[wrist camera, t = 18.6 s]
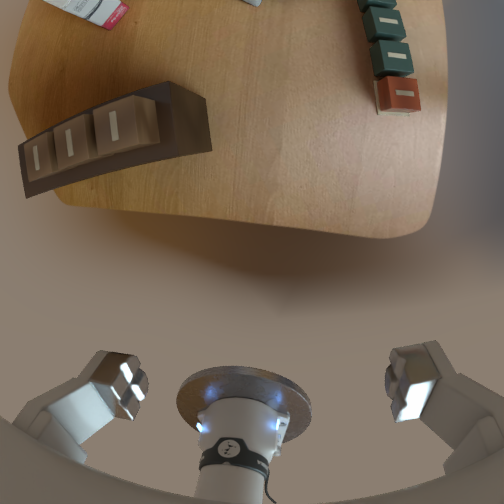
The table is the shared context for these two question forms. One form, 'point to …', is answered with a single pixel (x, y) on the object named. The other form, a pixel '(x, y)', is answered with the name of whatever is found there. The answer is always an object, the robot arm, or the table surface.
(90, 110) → the dark drawer rack
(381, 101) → the wooden drawer cube
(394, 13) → the row of labeled boxes
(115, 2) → the ink box
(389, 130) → the table surface
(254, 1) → the shell shaped sculpture
